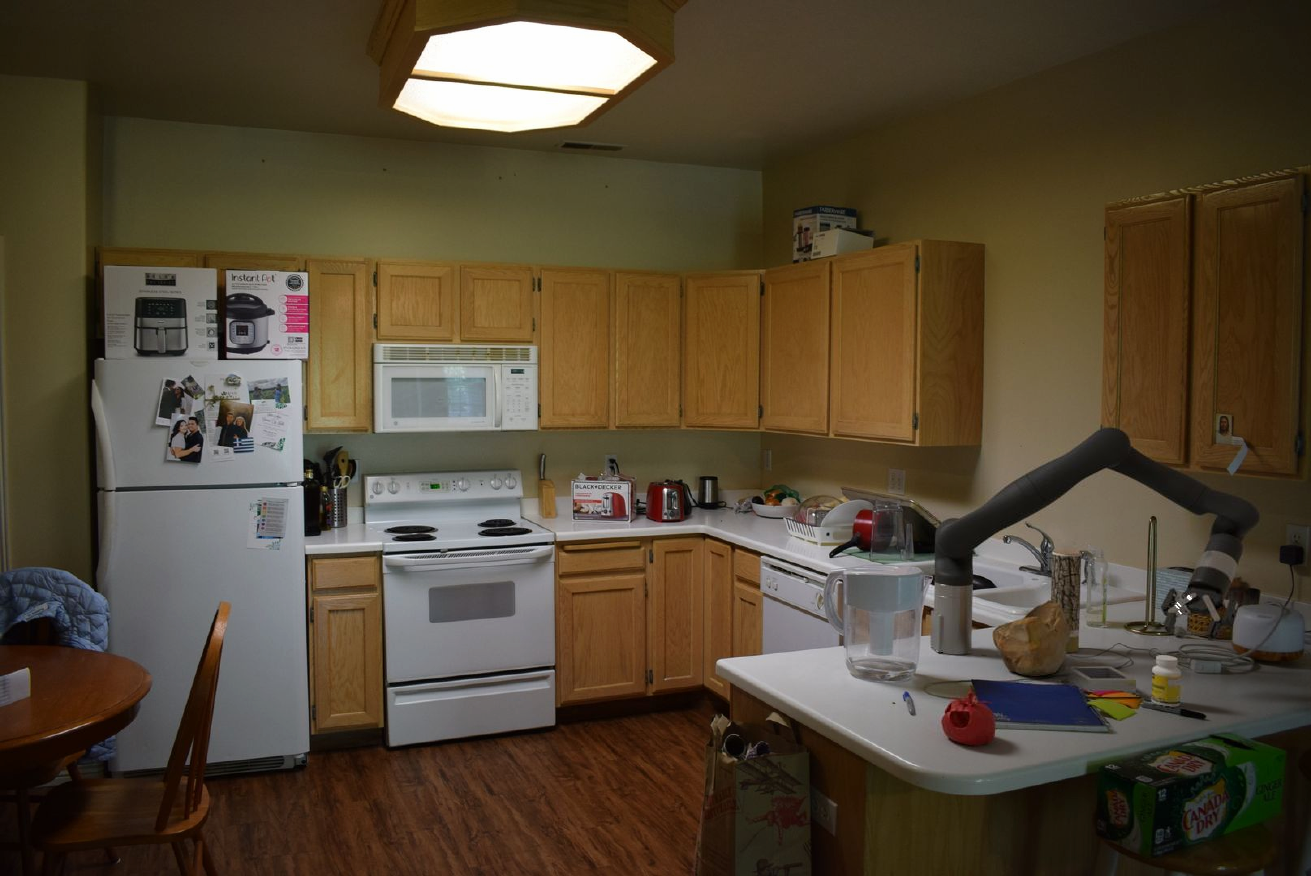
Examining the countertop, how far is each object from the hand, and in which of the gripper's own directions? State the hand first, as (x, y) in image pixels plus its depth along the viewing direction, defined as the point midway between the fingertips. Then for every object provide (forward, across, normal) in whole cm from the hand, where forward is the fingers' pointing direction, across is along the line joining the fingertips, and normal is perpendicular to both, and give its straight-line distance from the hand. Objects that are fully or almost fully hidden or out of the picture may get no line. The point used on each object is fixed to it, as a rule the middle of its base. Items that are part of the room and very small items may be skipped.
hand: (1188, 634), depth 210 cm
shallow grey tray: (+18, -13, +1) cm, 22 cm away
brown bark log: (0, -36, +19) cm, 41 cm away
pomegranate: (+54, -12, -34) cm, 65 cm away
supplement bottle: (+16, 0, +2) cm, 17 cm away
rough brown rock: (+15, -33, +5) cm, 37 cm away
